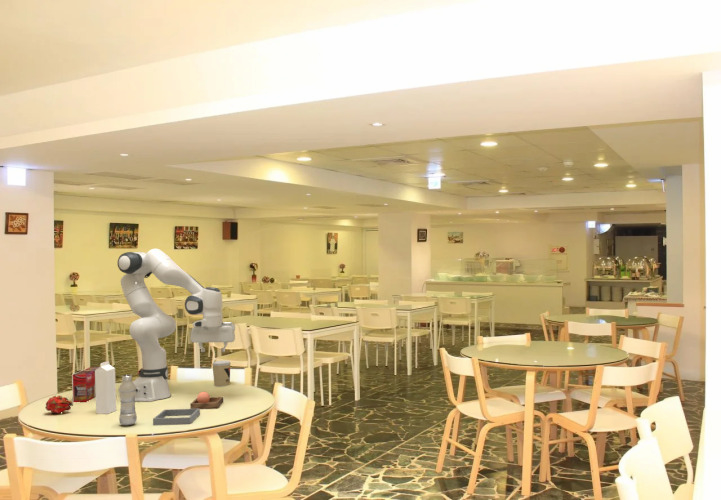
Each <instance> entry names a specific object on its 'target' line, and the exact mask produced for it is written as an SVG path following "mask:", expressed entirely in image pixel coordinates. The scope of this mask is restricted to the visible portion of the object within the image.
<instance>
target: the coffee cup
mask: <svg viewBox="0 0 721 500" xmlns="http://www.w3.org/2000/svg"><path fill="white" fill-rule="evenodd" d="M212 372H213V374H212V375H213V376H212V377H213V383H214V386H215V387H217V388H218V387H227V386H230V383H231V361H230V360H216V361H213V362H212Z"/></svg>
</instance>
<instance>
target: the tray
mask: <svg viewBox="0 0 721 500" xmlns="http://www.w3.org/2000/svg"><path fill="white" fill-rule="evenodd" d="M222 404H224V396H213V397H212V396H210V400H209V402H208V403H198V401H197V397H196V398H195V399H194V400H193V401H192V402H190V404H189V406H190V408H189V409H200V410H208V409H210V410H211V409H212V410H213V409H219V408H220V407H221V405H222Z"/></svg>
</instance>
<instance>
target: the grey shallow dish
mask: <svg viewBox="0 0 721 500" xmlns="http://www.w3.org/2000/svg"><path fill="white" fill-rule="evenodd" d="M200 410H201V409H190V408H177V409H176V408H175V409H174V408H173V409H171V408H170V409H163V410H162V411H161V412H160V413H158V414H157V415H156V416H154V417H153V418H152V425H153V426H167V425H168V426H169V425H191V424H192V423H193V422H194V421H195V420H196V419H197V418H198V417H199V416H200V415H201V413H200V412H201V411H200ZM170 416H171V417H170ZM173 416H176V417H173ZM178 416H180V417H178ZM181 416H182V417H181ZM185 416H188V417H185Z"/></svg>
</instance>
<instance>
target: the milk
mask: <svg viewBox="0 0 721 500" xmlns="http://www.w3.org/2000/svg"><path fill="white" fill-rule="evenodd" d="M99 364H100V365H99V366H98V367H99V368H98V369H96V370H95V391H96V397H95V414H96V413H98V414H99V415H108V414H112V413H114V412H116V411H117V391H116V390H117V389H116V385H117V384H116V368H115V367H114V366H112V365H111V364H110V360H108V361H104V362H101V363H99ZM111 412H112V413H111Z"/></svg>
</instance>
